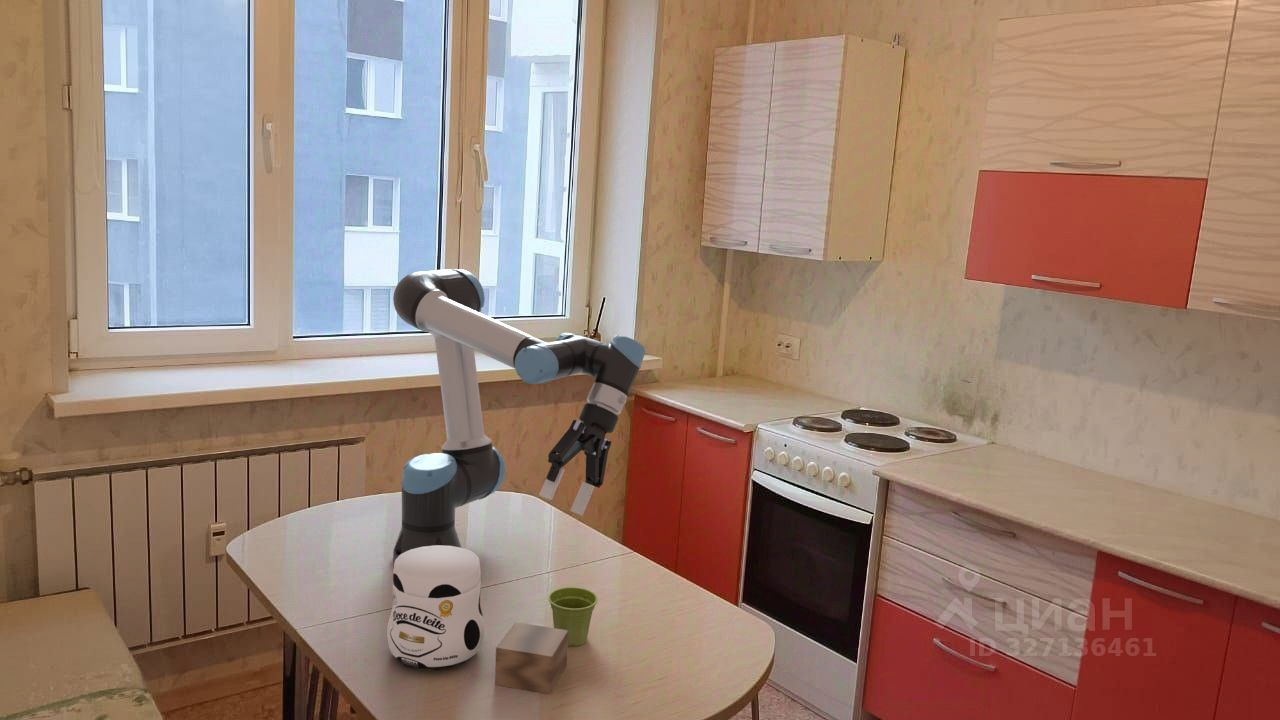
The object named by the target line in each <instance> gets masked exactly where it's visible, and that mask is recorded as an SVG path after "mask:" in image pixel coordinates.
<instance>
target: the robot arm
mask: <svg viewBox="0 0 1280 720" xmlns="http://www.w3.org/2000/svg"><path fill="white" fill-rule="evenodd" d="M485 297H486V296H485V290H484V289H483V286H482V284H481V282H480V281H479V279H478V278H477V277H476V276H475V275H474V274H473V273H472V272H471V271H467V270H465V269H460V268H459V269H457V268H456V269H455V268H447V269H437V270H436V269H435V270H427V271H414V272H412V273H410V274H407V275H405V276H404V277H402V279H400V281H399V282H398V283H397V284H396V287H395V289H394V291H393V297H392V298H393V300H392V301H393V306H394V307H393V308H394V310H395V312H396V313H397V315H398V316H399V318H401V320H402V321H403V322H405V323H406V324H408V325H410V326H412V327H413V328H415V329H418V330H419V331H422V332H425V333H429V334H430V336H433V338H434V345H435V350H436V351H435V352H436V353H435V354H436V361H437V368H438V375H439V383H440V392H441V399H442V406H443V407H442V408H443V415H444V416H443V417H444V423H445V431H446V432H445V433H446V441H445V442H444V443H443V444H442V445H441V452H431V453H423V454H420V455H416V456H414V457H411V459H409V460H408V461H407V462H406V463H405V465H404V466H403V469H402V477H401V482H400V483H401V527H400V531H399V535H398V536H397V539H396V542H395V545H394V548H393V550H392V551H393V552H392V553H393V554H392V555H393V556H392V557H393V558H392V561H394V562H393V563H395V560H396V558H397V557H398V556H399V555H400V554H402V553H404V552H406V551H408V550H411V549H415V548H419V547H424V546H434V545H442V546H454V547H460V548H462V545H461V541H460V539H459V537H458V532H457V530H456V529H457V528H456V526H455V525H456V521H455V520H456V519H455V518H456V509H457V508H459V507H462V506H465V505H468V504H470V503H474V502H475V501H478V500H483V499H485V498H487V497H489V495H492V494H494V493H496V492H497V491H498V490H499V488H500V487H501V486H502V484H503V482H504V480H505V476H506V465H505V464H506V463H505V461H504V458H503V455H501V454H499V453H500V452H499V450H498V449H497V448H496V447H494V446H493V441H492V439H491V438H490V437H488V436H487V435H486V434H485V430H484V421H483V413H482V403H481V396H480V395H481V394H480V389H479V381H478V380H479V379H478V371H477V365H476V364H477V362H476V356H475V354H476V353H475V352H478V353H480V354H483V355H485V356H487V357H489V358H491V359H493V360H495V361H498V362H500V363H502V364H503V365H506V366H508V367H510V368H512V369H514V370H515V372H516V374H517V376H519V379H521V381H522V382H524V383H526V384H530V385H536V384H546V383H548V382H551V381H555V380H558V379H562V378H566V377H567V378H568V377H570V376H574V375H579V374H582V375H586V376H591V377H593V378H595V380H594V381H593V384H592V387H591V388H590V390H589V393H588V396H587V397H586V403H584V405H583V407H582V410H581V411H580V414H579V417H578V419H579V420H577V419H573V421H572V423H571V424H570V426H569V428H568V430H567V431H566V432H565V433H564V434H563V435H562V437H561V438H560V439H559V440H558V442H557V443H556V444H555V445H554V446H553V448H552V449H551V450H550V452H549V453H548V455H547V457H548V459H547V462H548V463H549V464H551V465H550V468H549V470H548V472H547V475H546V479H545V480H544V483H543V485H542V487H541V490H540V491H539V494H538V495H539V497H542V498H544V499H547V500H550V501H553V499H554V496H555V494H556V491H557V489H558V486H559V484H560V483H561V480H562V477H563V476H564V474H565V471H566V469H565V468H564V466H566V465H567V464H568V463H569V462H570V461H571V460H572V459H573V458H575V457H576V456H577V455H578V454H579V453H580V452H581V451H583V452H584V453H583V454H584V455H585V481H582V482H581V485H580V486H579V490H578V491H577V494H576V497H575V499H574V501H573V504H572V506H571V508H570V512H572V513H574V514H577V515H579V516H584V513H585V511H586V509H587V506H588V503H589V501H590V499H591V496H592V494H593V492H594V490H595V488H597V489H599V488H601V487H602V486H603V484H604V480H605V474H606V467H607V461H608V456H609V450H610V448H611V445H612V441H611V440H610V439H607V438H605V437H606V434H611V433H613V432H614V431H615V427H616V425H617V423H618V420H619V416H618V415H620V414H622V413H621V412H622V411H623V408H624V406H625V404H626V403H627V398H628V397H629V394H630V391H631V389H632V386H633V384H634V382H635V380H636V377H637V375H638V374H639V371H640V370H641V368H642V364H643V362H644V361H643V360H644V357H645V355H646V348H645V347H644V346H643V344H641V342H638V341H637V340H635V339H633V338H631V337H629V336H625V335H619V334H618V335H614V336H613V338H612V339H611V341H610V343H608V342H603V341H601V340H600V341H599V340H596V339H592V338H589V337H586V336H583V335H580V334H577V333H570V332H563V333H561V334H559V336H558V337H556V338H555V339H554V340H553V341H551V342H546V341H544V340H541V339H539V338H538V337H534V336H532V335H530V334H528V333H525V332H523V331H521V330H519V329H517V328H514V327H512V326H510V325H509V324H508V325H507V324H505V323H503V322H501V321H499V320H497V319H494V318H493V317H489V316H487V315H485V314H484V313H481V312H482V311H483V310H482V308H483V307H484V305H485V299H486V298H485Z"/></svg>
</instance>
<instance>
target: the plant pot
mask: <svg viewBox="0 0 1280 720" xmlns="http://www.w3.org/2000/svg"><path fill="white" fill-rule="evenodd" d="M547 599H548V602H549V603H550V607H551V608H550V609H552V620H553V628H556V629H562V630H568V646H567V647H570V646H575V647H579V646H582V645H584V644H585V643H586V642H587V639H588V635H589V630H590V626H591V625H590V624H591V620H592V615H593V611H594V610H595V606H596V605H597V603H598V600H599V597H598V596H597V594H596V593H595V592H594V591H592V590H590V589H587V588H584V587H583V588H582V587H579V586H578V587H576V586H570V587H569V586H568V587H560V588H556V589H554V590H553V591H551V592H550V593H549V594H548V598H547Z"/></svg>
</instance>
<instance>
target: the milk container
mask: <svg viewBox="0 0 1280 720" xmlns="http://www.w3.org/2000/svg"><path fill="white" fill-rule="evenodd" d="M393 563H394V562H393ZM481 573H482V571H481V563H480V557H479V556H478V555H477V554H476V553H475V552H474V551H472V550H468V549H466V548H464V547H461V548H460V547H454V546H442V545H434V546H424V547H419V548H415V549H411V550H408V551H406V552H404V553H402V554H400V555H399V556H398V557H397V558H396V560H395V563H394V565H393V572H392V581H393V582H392V607H391V613H390V616H389V618H388V623H387V628H386V636H387V643H388V648H389V651H390V653H391V654H392V656H393V657H394V658H395V659H396V660H397V661H398V662H401V663H403V664H404V665H407V666H409V667H412V668H417V669H421V670H440V669H441V670H442V669H446V668H447V669H448V668H452V667H456V666H457V665H461V664H464V663H466V662H467V661H469V660H470V659H472V658H474V657H475V656H476V655H477V654H478V652H479V650H480V649H481V647H482V644H483V640H484V636H485V619H484V615H483V612H482V607H481V590H482V586H481V585H482V581H481V579H482V575H481Z"/></svg>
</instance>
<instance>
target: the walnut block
mask: <svg viewBox="0 0 1280 720" xmlns="http://www.w3.org/2000/svg"><path fill="white" fill-rule="evenodd" d="M568 647H569V646H568V630H562V629H556V628H554V627H547V626H541V625H535V624H528V623H523V622H517V621H515V622H514V623H513V625H512V626H511V627H510V629H509V630H508V631H507V632H506V634H505V635H504V637H503V638H502V639H501V640H500V642H499V643H498V645H497V646H496V647H495V670H494V671H495V672H494V686H499V687H506V688H512V689H517V690H523V691H529V692H536V693H542V694H547V695H551V694H552V692H553V691H554V689H555V686H556V685H557V684H558V682H559V680H560V678H561V677H562V676H563V673H564V671H565V670H566V668H567V665H568V664H567V662H568Z"/></svg>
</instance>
